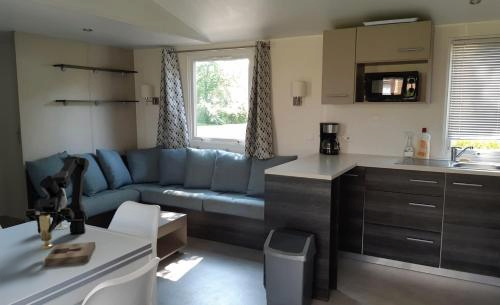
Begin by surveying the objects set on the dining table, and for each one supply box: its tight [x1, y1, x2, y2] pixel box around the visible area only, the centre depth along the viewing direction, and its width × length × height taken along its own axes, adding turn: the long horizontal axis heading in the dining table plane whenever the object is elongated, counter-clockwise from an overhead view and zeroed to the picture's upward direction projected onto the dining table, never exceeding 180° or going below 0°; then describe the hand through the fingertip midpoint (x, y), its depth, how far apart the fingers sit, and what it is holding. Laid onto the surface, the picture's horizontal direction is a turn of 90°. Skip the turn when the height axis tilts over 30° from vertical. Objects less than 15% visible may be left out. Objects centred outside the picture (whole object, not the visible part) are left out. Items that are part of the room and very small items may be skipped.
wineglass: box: [53, 188, 69, 231], centre depth 196 cm, size 8×8×21 cm
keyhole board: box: [44, 241, 96, 267], centre depth 158 cm, size 16×16×3 cm
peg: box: [39, 214, 54, 250], centre depth 155 cm, size 4×4×14 cm
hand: (44, 232), depth 154 cm, fingers closed on peg, 4 cm apart
